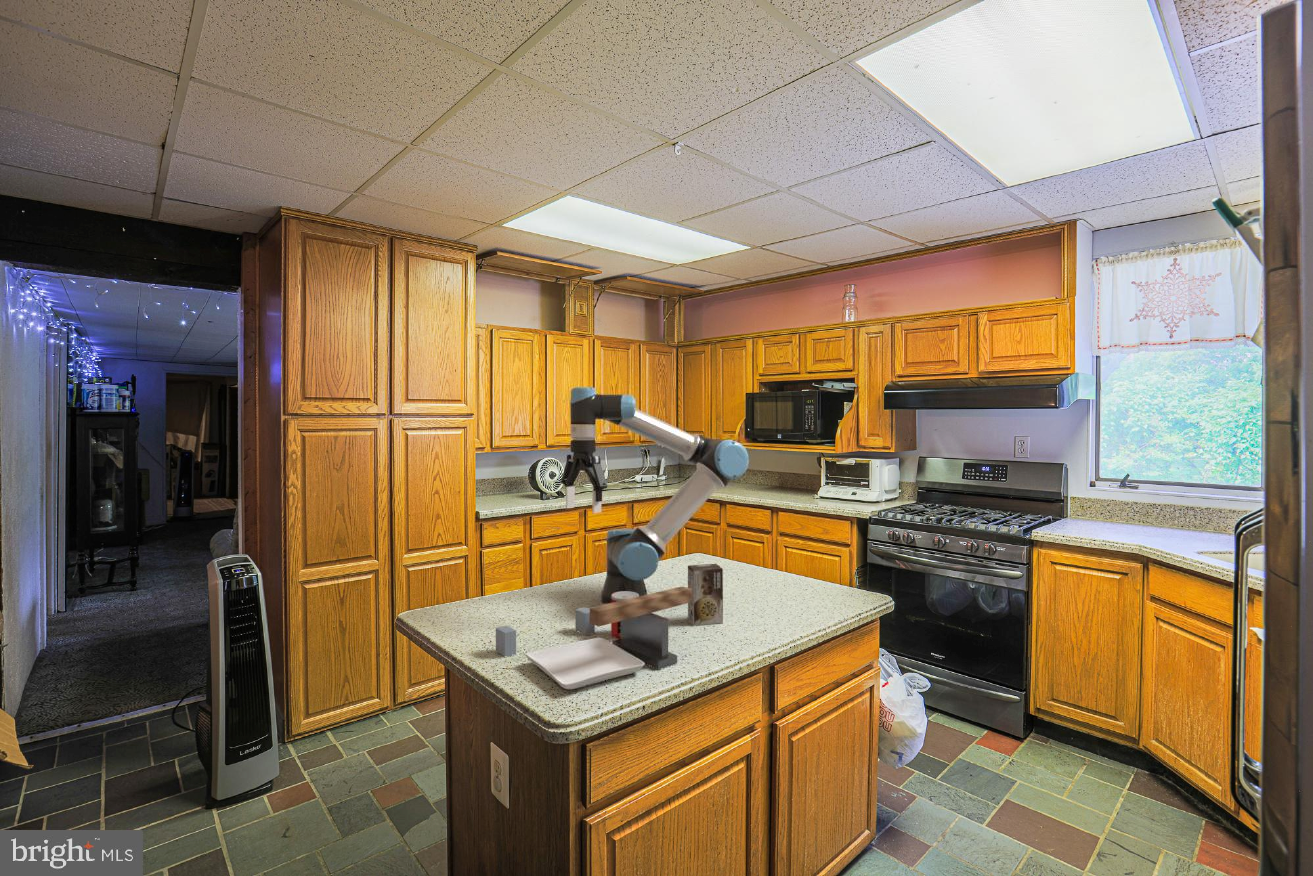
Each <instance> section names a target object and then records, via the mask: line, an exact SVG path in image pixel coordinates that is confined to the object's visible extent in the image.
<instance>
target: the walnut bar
mask: <svg viewBox="0 0 1313 876" xmlns="http://www.w3.org/2000/svg"><path fill="white" fill-rule="evenodd" d="M691 602H692V589H690V588H688V586H684V585H683V586H682V585H681V586H679V587H678V586H677V587H675V588H669V589H666V590H661V591H660V590H659V591H657V592H652V593H647V595H643V596H639V597H635V598H631V599H626V600H622V601H618V602H613V603H609V604H608V603H605V604H601V605H598V606H597V605H596V606H593V607H589V609H590V623H591V624H593V625H595V627H598V628H599V627H603V626H606V625H611V623H614V622H618V621H622V620H626V619H630V618H633V617H637V616H641V615H645V614H649V613H653V614H654V613H656V612H659V611H663V610H667V609H671V608H675V607H679V606H683V605H688V603H691Z"/></svg>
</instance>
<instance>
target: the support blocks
mask: <svg viewBox="0 0 1313 876" xmlns="http://www.w3.org/2000/svg"><path fill="white" fill-rule="evenodd" d="M574 612H575V615H574V617H575V621H574V623H575V629H574V630H576V631H575V632H577V631H579V632H580V633H579V632H578V633H579V634H581V633H582V634H581V635H584V636H589V635H592V634H591V633H593V634H596V633H595V632H596V629H595V628H596V625H593V624H591V623H590V608H588V607H580V608H575V611H574ZM588 634H589V635H588ZM496 651H497V652H496ZM495 652H496V653H498V652H499V653H500V654H499V653H498V654H499V655H501V654H502V655H503V656H502V655H501V656H502V657H504V656H507V657H511V656H513V655H512V654H515V655H517V630H516V629H514V628H512V627H510V626H508V625H501V626H498V627H495ZM510 655H511V656H510Z"/></svg>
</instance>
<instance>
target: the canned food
mask: <svg viewBox="0 0 1313 876" xmlns="http://www.w3.org/2000/svg"><path fill="white" fill-rule="evenodd" d="M635 597H639V594H638V593H635V592H631V591H620V592H616V593H613V594H612V595H611V603H613V602H618V601H622V600H626V599H631V598H635ZM610 632H611V636H612V637H613V638H614V637H615V639H616V640H617V639H621V621H618V622H614V623H611V624H610Z"/></svg>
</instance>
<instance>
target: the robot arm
mask: <svg viewBox="0 0 1313 876" xmlns="http://www.w3.org/2000/svg"><path fill="white" fill-rule="evenodd" d="M596 390H597V389H596V388H595V387H592V386H590V387H588V386H587V387H586V386H580V387H573V388H572V389H571V390H570V402H569V404H570V405H569V409H570V410H569V412H570V413H569V415H570V438H571V440H570V452H571V453H573V454H567V455H566V462H565V466H564V469H563V473H562V476H561V480H560V484H561V485H563V486H564V488H565V509H573V508H575V507H576V502H575V501H576V499H575V498H576V497H575V495H576V493H575V491H576V490H575V489H576V488H575V481H576V480H577V478H578V477H579V474H580V473H581V471H583V472H584V473H586V474H587V477H588V479H589V481H590V482H591V485H592V487H593V489H592V491H591V492H592V497H591V498H592V503H591V504H592V505H591V506H592V507H591V508H592V514H598V513H602V502H603V491H604V490H605V489H607V488H608V483H607V481H606V477H605V474H604V470H603V467H602V463H601V461H602V460H601V456H600V455H594V453H596V451H597V449H596V448H597V444H596V443H597V441H596V440H595V439H596V438H597V426H596V425H597V421H596V420H603V421H607V422H610V423H611V424H614V425H616V426H617V427H618V426H619V427H620V428H623V429H625V430H627V431H630V432H631V433H633V434H636V435H638V436H640V437H642V438H644V439H647V440H649V441H651V442H653V443H656V444H657V445H660V446H661V447H664V448H666V449H668V450H671V451H673V452H675V453H676V454H678V455H679V454H680V455H681V456H683V459H684V460H685V461H686V462H689V463H691V464H693V465H695V466H696V470H695V471H694V472H693V474H692V475H691V476H690V477H689V478H688V479H687V481H686V482H685V483H684V484H683V485H682V486H681V487H680V488H679V489H678V490H677V491H676V493H674V495H672V497H671V498H670V499H669V500H667V502H666V503H665V504H664V505H663V506H662V508H661V509H660V510H659V511H658V512H657V513H656V514H655V515H654V516H653V517H652V519H650V521H649V522H648V523H647V524H646V525H644V526H637V527H636V528H620V529H619V528H618V529H617V528H616V529H610V530H608V531H607V532H606V539H605V540H606V576H605V579H604V580H605V581H604V584H603V587H602V590H601V599H600V600H601V601H602V602H603V603H605V604H609V603H611V595H612V594H613V593H616V592H620V591H631V592H635V593H638V594H639V596H643V595H648V590H647V586H646V583H645V580H647V579H648V578H650V577H651V576H653V575H654V574H655V572H656V570H657V569H658V566H659V562H660V561H659V560H660V559H661V558H662V557H663V556H664V555H665V554H666V546H667V544H668V543H670V541H672V539H673V538H674V537H675V536H676V534H678V532H679V531H680V530H681V529H682V528H683V527H684V526H685V525H686V524H687V522H689V520H690V519H691V518H692V517H693V516H694V514H695V513H697V511H698V510H699V509H700V508H701V507H702V506H703V505H704V504H705V503H706V502H707V500H708V499H709V498H710V497H711V496H712V495H713V493H715V491H716V490H719V489H720V490H722V489H725V488H726V487H727V486H728V484H729V483H730V482H731V481H732V480H735V479H738V478H740V477H742V476H743V475H744V474H745V472H746V471H747V470H748V467H749V463H750V460H749V457H750V456H749V454H748V453H749V452H748V451H747V449H746V447H745V446H744V445H742V444H741V443H739V442H738V441H735V440H732V439H715V438H709V437H706V436H703V435H700V434H698V433H694V434H691V433H689V432H687V431H685V430H682V429H681V428H678V427H676V426H674V425H673V424H670V423H667V422H665V421H663V420H662V419H659V418H658V417H655V416H652V415H651V414H649V413H647V412H644V411H642V410H640V409H638V408H637V406H636V405H637V404H636V398H635V397H634V396H633V395H632V394H625V393H624V394H601V393H600V394H599V393H597V391H596Z"/></svg>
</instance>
